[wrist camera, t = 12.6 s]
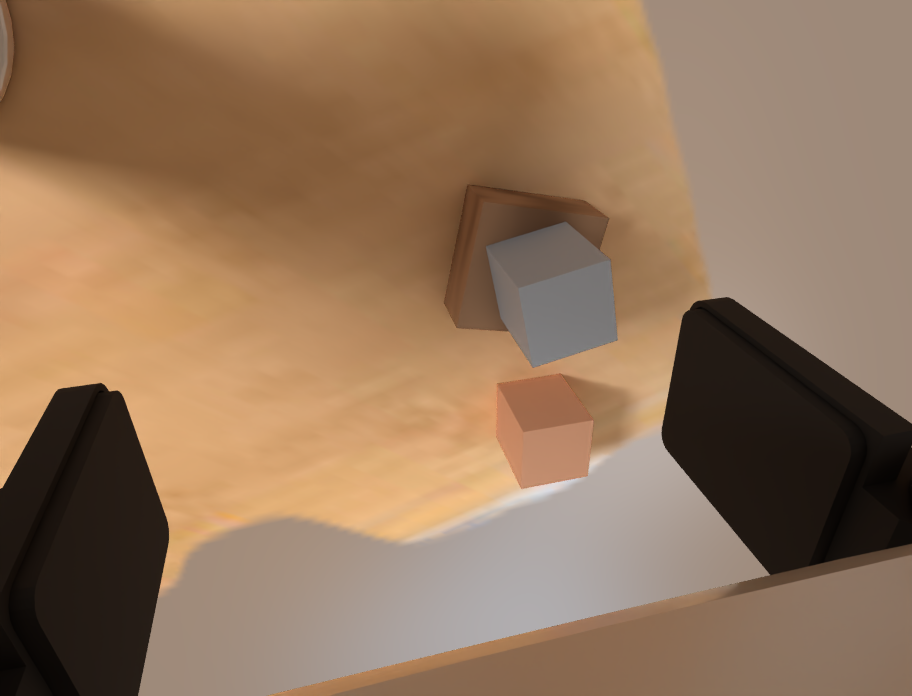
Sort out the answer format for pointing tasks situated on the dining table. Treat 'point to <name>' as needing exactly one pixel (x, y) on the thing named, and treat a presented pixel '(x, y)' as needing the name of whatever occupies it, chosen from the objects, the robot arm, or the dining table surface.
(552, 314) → the slate block
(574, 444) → the terracotta block
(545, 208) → the walnut base
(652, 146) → the dining table surface
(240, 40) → the dining table surface
